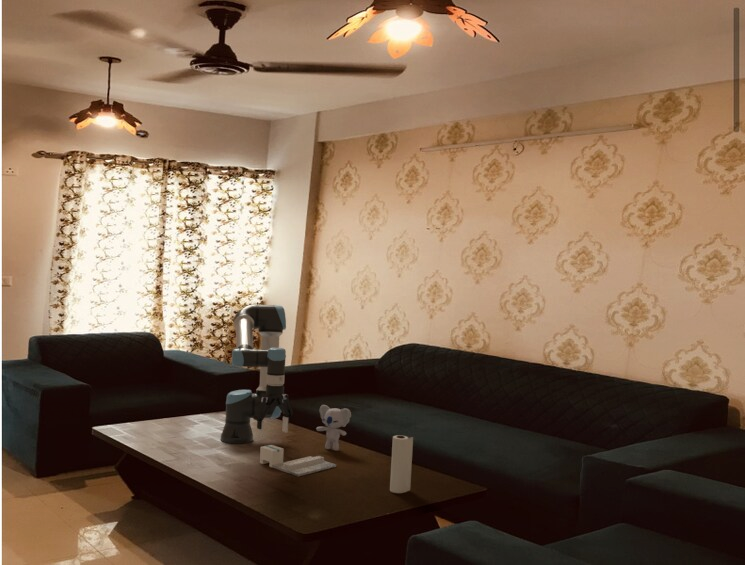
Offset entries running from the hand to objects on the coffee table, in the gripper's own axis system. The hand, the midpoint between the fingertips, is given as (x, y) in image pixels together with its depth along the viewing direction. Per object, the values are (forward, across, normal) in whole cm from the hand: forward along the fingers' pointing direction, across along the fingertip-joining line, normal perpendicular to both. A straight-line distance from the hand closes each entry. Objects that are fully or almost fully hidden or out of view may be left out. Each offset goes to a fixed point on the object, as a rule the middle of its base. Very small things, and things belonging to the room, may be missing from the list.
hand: (272, 434), depth 307 cm
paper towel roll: (+14, +15, -58) cm, 61 cm away
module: (+13, 0, 0) cm, 13 cm away
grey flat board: (+13, +8, -12) cm, 19 cm away
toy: (+13, +37, 0) cm, 39 cm away
